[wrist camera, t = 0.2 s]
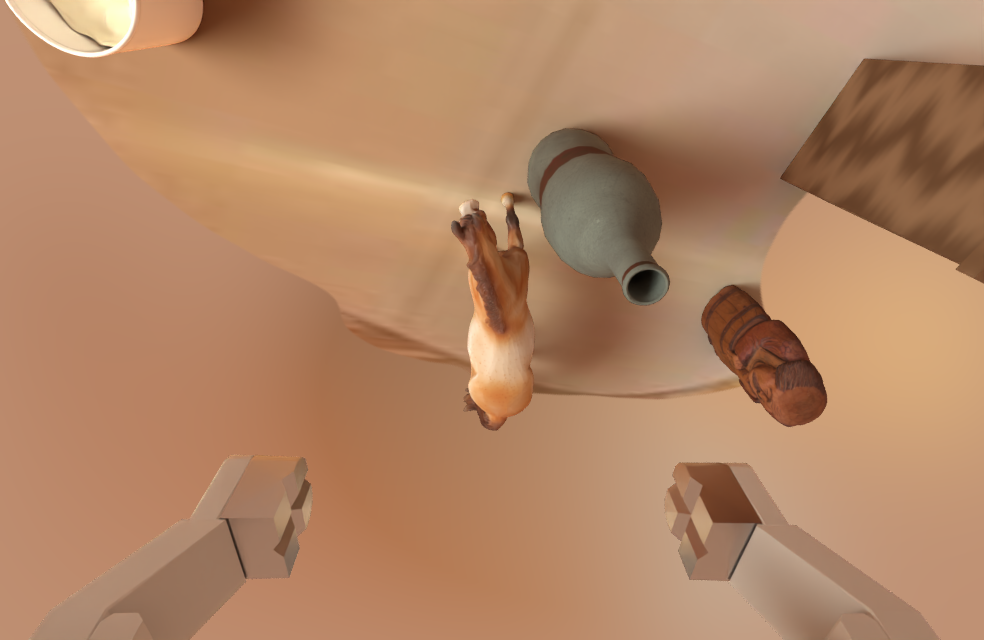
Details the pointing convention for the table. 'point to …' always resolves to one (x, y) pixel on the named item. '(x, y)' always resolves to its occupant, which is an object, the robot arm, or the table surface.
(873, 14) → the table surface
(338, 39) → the table surface
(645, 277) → the bottle
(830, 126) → the stand
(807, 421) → the wooden figurine
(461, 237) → the horse figurine
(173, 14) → the candle holder
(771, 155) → the table surface
